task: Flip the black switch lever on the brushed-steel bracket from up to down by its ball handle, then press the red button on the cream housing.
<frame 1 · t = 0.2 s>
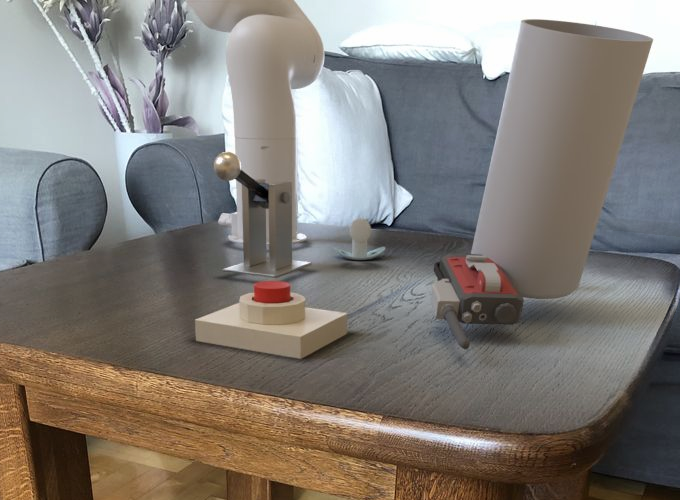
start button: (272, 293, 81), point 4 cm above the table, slide at 0.1 cm
switch bracket: (268, 274, 110), on the table
switch lever: (247, 181, 101), point 12 cm above the table, hinge at 25.0°
pacifier: (359, 266, 117), on the table
cylinder vase: (521, 281, 93), point 3 cm above the table, touching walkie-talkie
button housing: (272, 337, 83), on the table
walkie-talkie: (472, 316, 84), point 2 cm above the table, touching cylinder vase
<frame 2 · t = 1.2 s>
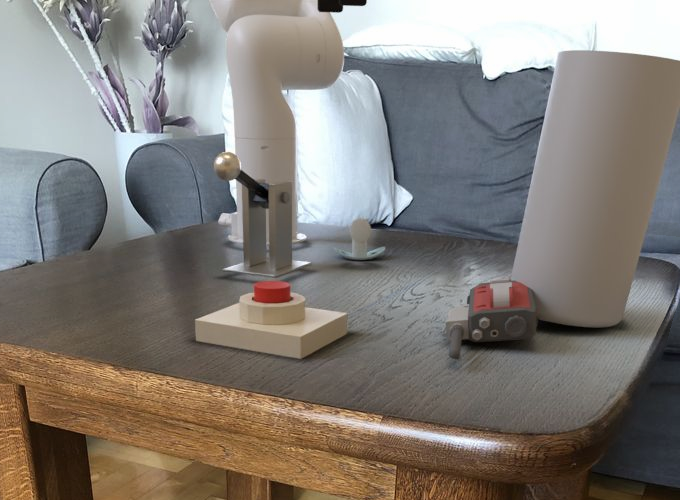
hand: (341, 8, 99), 31 cm above the table, tool pointing down, fingers open, 9 cm apart
cylinder vase: (561, 316, 90), on the table, touching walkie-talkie
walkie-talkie: (491, 336, 82), point 1 cm above the table, touching cylinder vase
everything else where it was.
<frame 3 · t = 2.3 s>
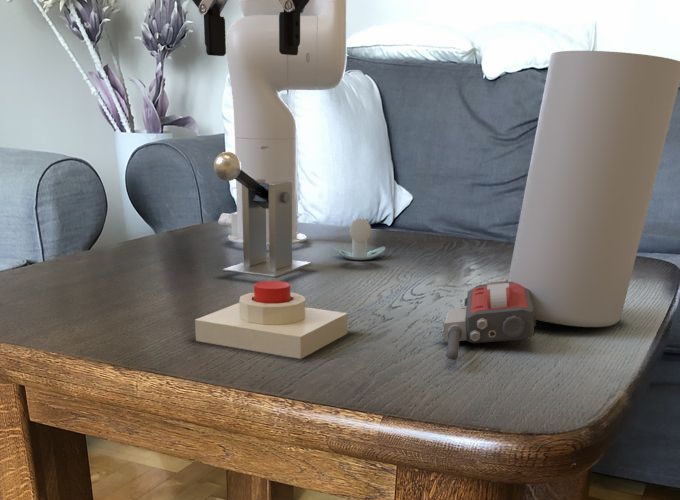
hand: (251, 55, 93), 26 cm above the table, tool pointing down, fingers open, 9 cm apart
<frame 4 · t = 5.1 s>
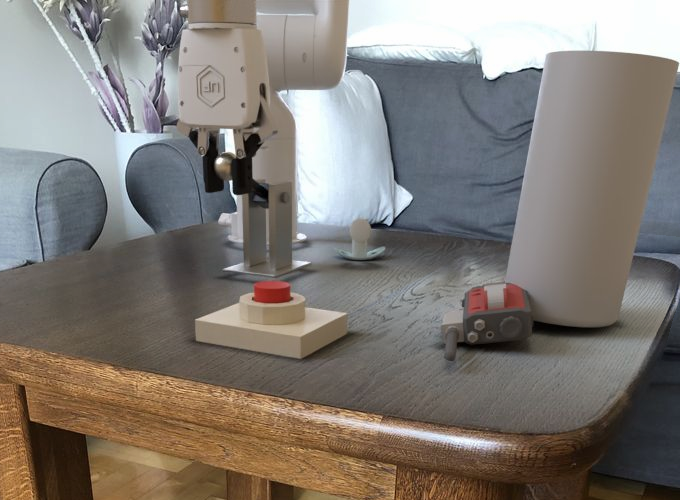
hand: (228, 191, 98), 11 cm above the table, tool pointing down, fingers closed on switch lever, 3 cm apart
switch lever: (247, 181, 101), point 12 cm above the table, hinge at 25.0°, touching gripper
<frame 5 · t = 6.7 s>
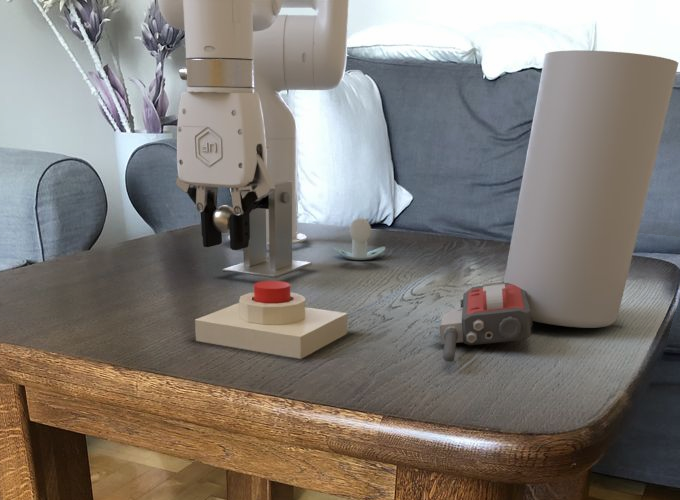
hand: (226, 245, 100), 5 cm above the table, tool pointing down, fingers closed on switch lever, 3 cm apart
switch lever: (246, 207, 102), point 9 cm above the table, hinge at -9.7°, touching gripper
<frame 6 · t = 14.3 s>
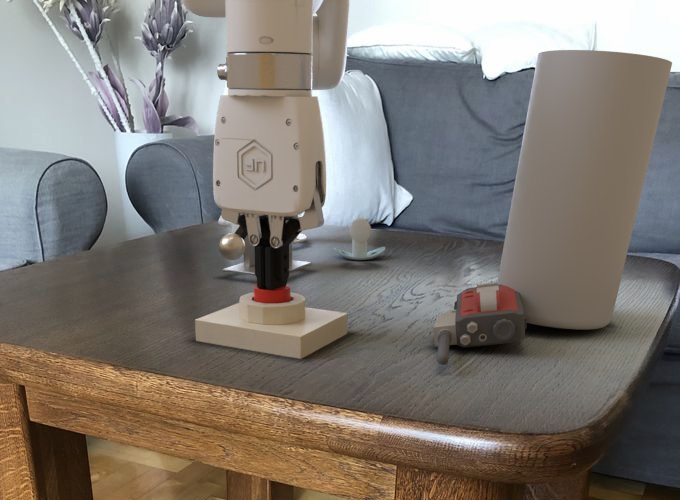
hand: (272, 286, 81), 5 cm above the table, tool pointing down, fingers closed
start button: (272, 295, 81), point 4 cm above the table, slide at -0.1 cm, touching gripper
switch lever: (249, 221, 104), point 7 cm above the table, hinge at -30.5°
cylinder vase: (549, 320, 89), on the table, touching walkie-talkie
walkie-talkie: (480, 341, 81), point 1 cm above the table, touching cylinder vase
everything else where it was.
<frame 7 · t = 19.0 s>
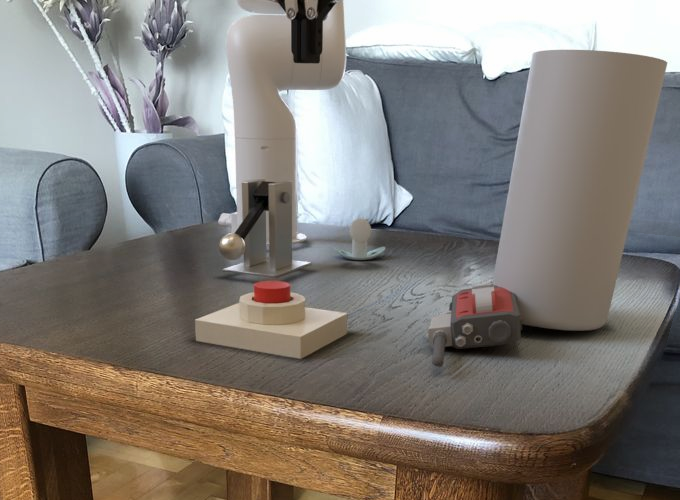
hand: (306, 62, 88), 25 cm above the table, tool pointing down, fingers closed
start button: (272, 293, 81), point 4 cm above the table, slide at 0.1 cm
at the end: switch lever at -30° (first picture: +25°); start button pushed in 1.1 cm at the most during the clip, back to where it started at the end; start button slide at 0.1 cm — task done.
